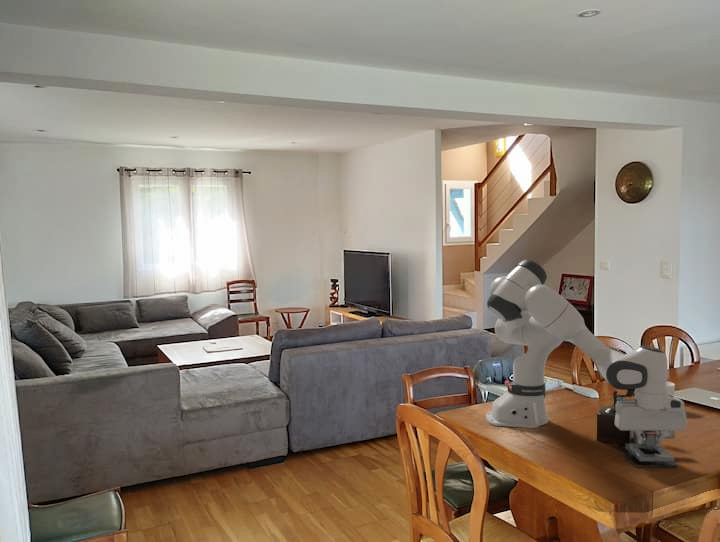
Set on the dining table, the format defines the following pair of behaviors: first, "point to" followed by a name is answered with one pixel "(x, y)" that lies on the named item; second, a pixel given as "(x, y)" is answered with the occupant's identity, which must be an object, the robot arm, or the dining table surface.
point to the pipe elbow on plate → (648, 460)
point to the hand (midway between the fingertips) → (649, 443)
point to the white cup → (670, 388)
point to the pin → (649, 442)
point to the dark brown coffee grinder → (612, 424)
